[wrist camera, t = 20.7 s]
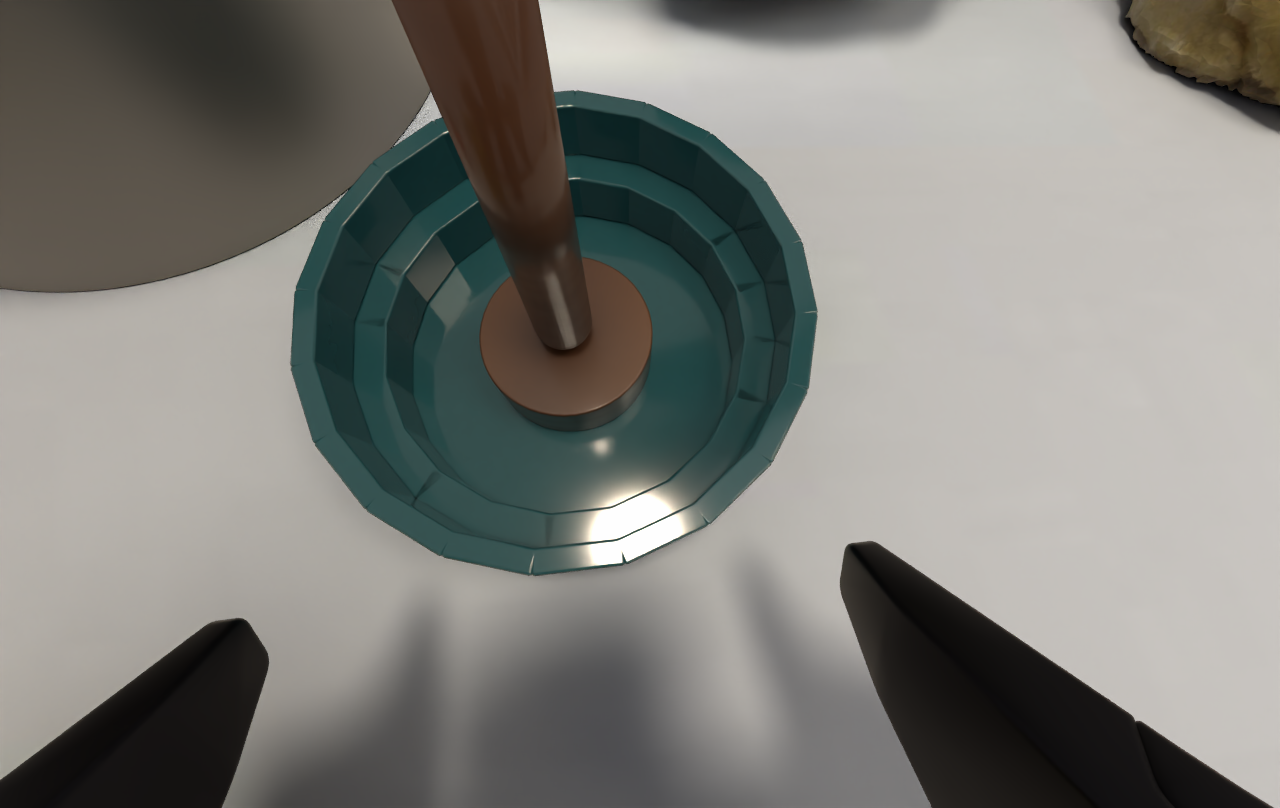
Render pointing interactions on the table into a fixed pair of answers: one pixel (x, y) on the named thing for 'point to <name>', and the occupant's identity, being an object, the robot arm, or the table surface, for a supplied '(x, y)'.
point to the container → (184, 128)
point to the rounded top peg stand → (530, 218)
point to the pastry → (1215, 41)
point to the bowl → (477, 410)
